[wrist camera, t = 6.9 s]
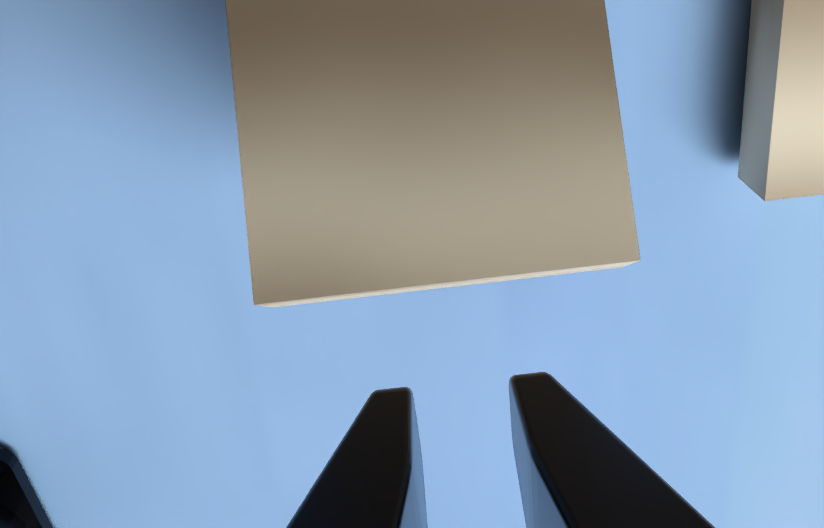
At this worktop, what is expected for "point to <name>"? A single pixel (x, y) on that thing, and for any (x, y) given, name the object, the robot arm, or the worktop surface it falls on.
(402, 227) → the oak plank
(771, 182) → the oak plank
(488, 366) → the worktop surface
